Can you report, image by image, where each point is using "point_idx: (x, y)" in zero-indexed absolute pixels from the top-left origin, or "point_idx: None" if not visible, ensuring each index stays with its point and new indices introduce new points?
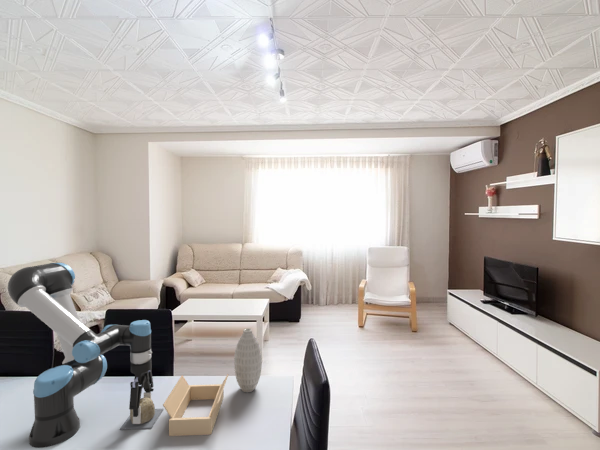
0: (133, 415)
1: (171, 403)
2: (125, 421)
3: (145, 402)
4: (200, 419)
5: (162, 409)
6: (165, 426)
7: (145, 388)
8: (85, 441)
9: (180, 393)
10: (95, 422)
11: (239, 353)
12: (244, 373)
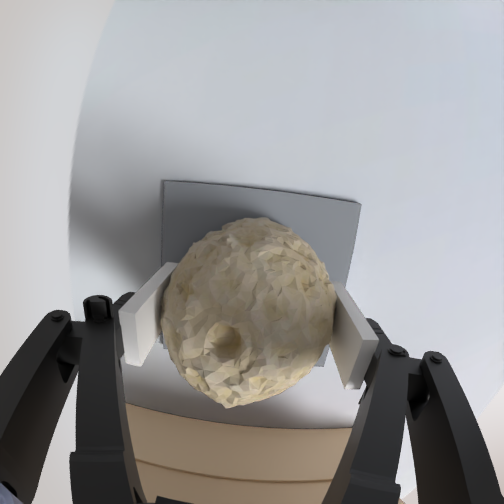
0: (120, 299)
1: (154, 490)
2: (232, 189)
3: (207, 383)
4: None
5: (315, 365)
6: (179, 391)
7: (369, 390)
8: (109, 56)
9: (277, 498)
10: (266, 18)
11: None
12: None
